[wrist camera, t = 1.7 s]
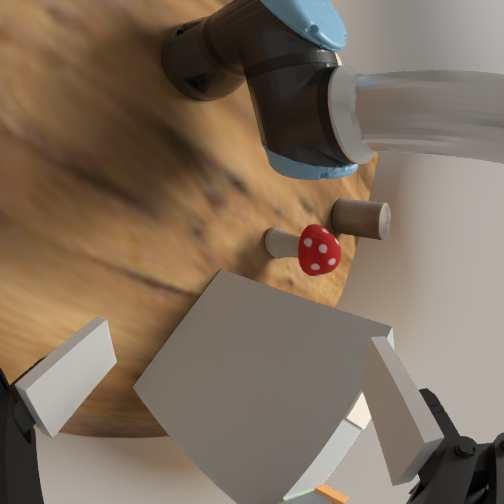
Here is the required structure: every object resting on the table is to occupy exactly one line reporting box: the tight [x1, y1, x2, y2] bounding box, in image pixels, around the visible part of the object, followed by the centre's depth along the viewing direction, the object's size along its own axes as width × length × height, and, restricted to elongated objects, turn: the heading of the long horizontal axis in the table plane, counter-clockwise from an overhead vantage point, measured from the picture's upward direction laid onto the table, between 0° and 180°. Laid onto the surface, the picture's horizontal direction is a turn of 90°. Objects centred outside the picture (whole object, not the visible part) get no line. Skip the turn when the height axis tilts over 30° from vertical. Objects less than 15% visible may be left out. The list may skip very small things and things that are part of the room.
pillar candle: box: [332, 199, 390, 240], centre depth 68 cm, size 10×10×15 cm
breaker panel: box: [133, 269, 394, 504], centre depth 38 cm, size 17×26×30 cm, turn 131°
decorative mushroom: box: [265, 224, 341, 276], centre depth 51 cm, size 10×9×15 cm
